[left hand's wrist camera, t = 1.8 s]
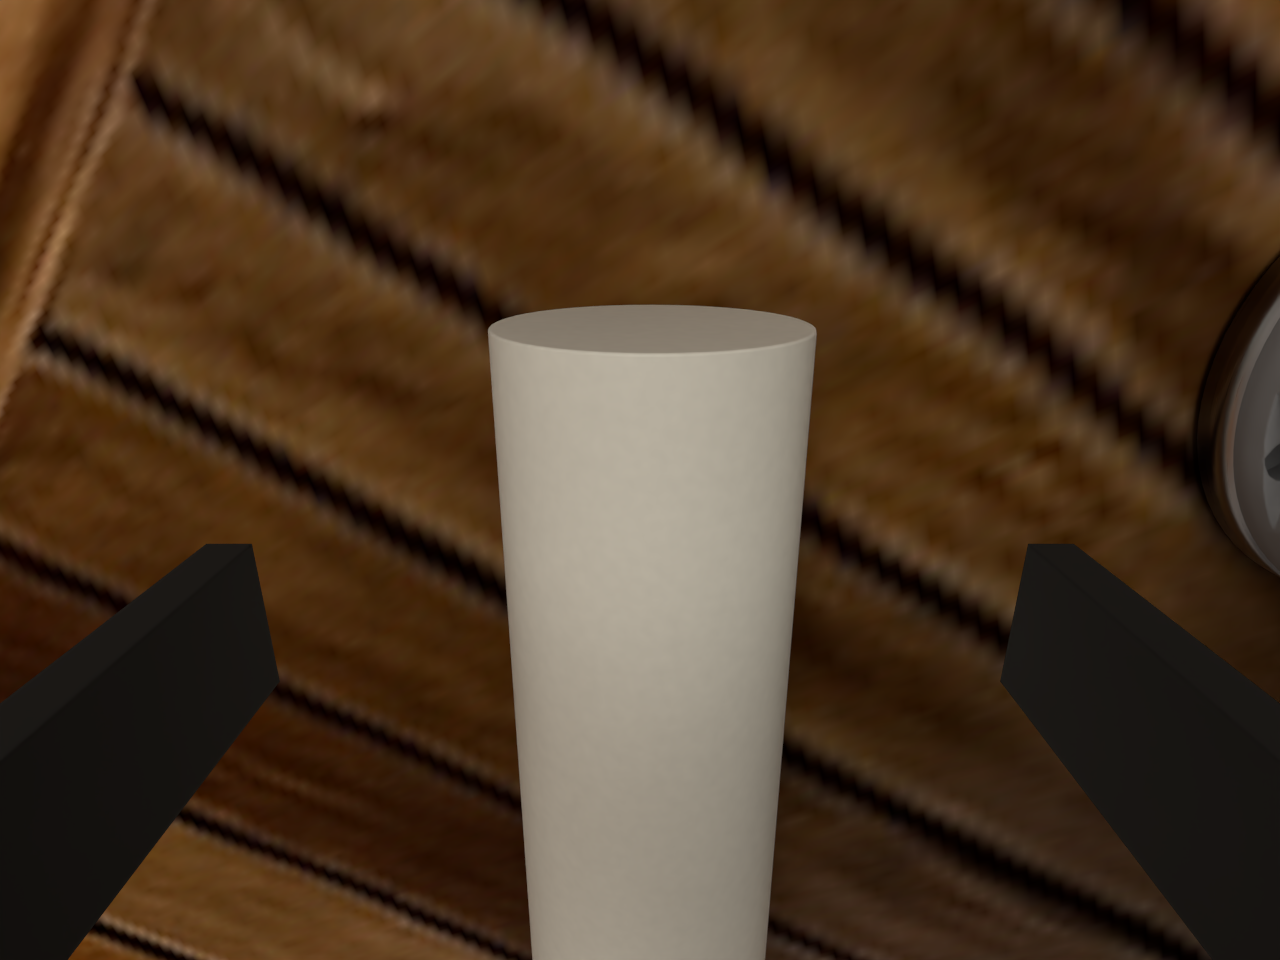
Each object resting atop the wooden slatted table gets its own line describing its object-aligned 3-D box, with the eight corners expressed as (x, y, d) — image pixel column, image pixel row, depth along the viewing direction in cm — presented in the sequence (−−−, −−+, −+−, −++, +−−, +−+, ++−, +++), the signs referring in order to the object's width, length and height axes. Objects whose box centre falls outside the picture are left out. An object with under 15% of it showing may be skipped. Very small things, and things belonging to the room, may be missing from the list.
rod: (517, 304, 24) (450, 353, 16) (784, 304, 24) (857, 353, 15) (551, 909, 33) (520, 1138, 25) (744, 910, 33) (776, 1140, 25)
